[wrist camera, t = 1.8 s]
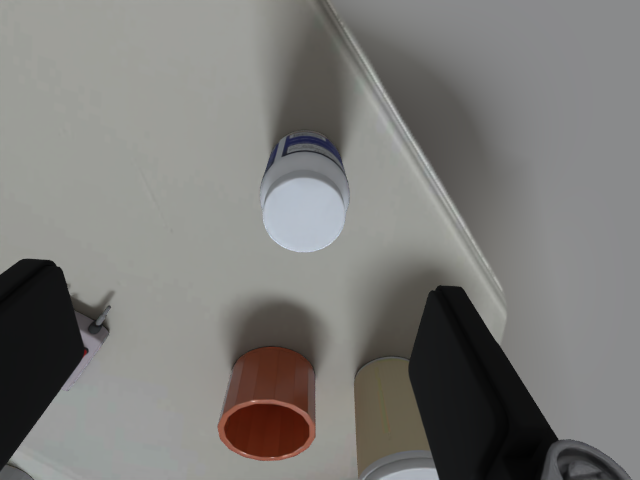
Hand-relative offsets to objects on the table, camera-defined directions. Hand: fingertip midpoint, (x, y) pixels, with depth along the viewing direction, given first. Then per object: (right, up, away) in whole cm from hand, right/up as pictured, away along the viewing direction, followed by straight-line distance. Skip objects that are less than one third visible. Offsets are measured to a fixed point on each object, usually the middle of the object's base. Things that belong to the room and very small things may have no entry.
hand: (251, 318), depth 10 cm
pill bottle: (+1, +8, +20) cm, 21 cm away
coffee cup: (+9, -14, +32) cm, 36 cm away
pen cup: (-3, -13, +31) cm, 34 cm away
